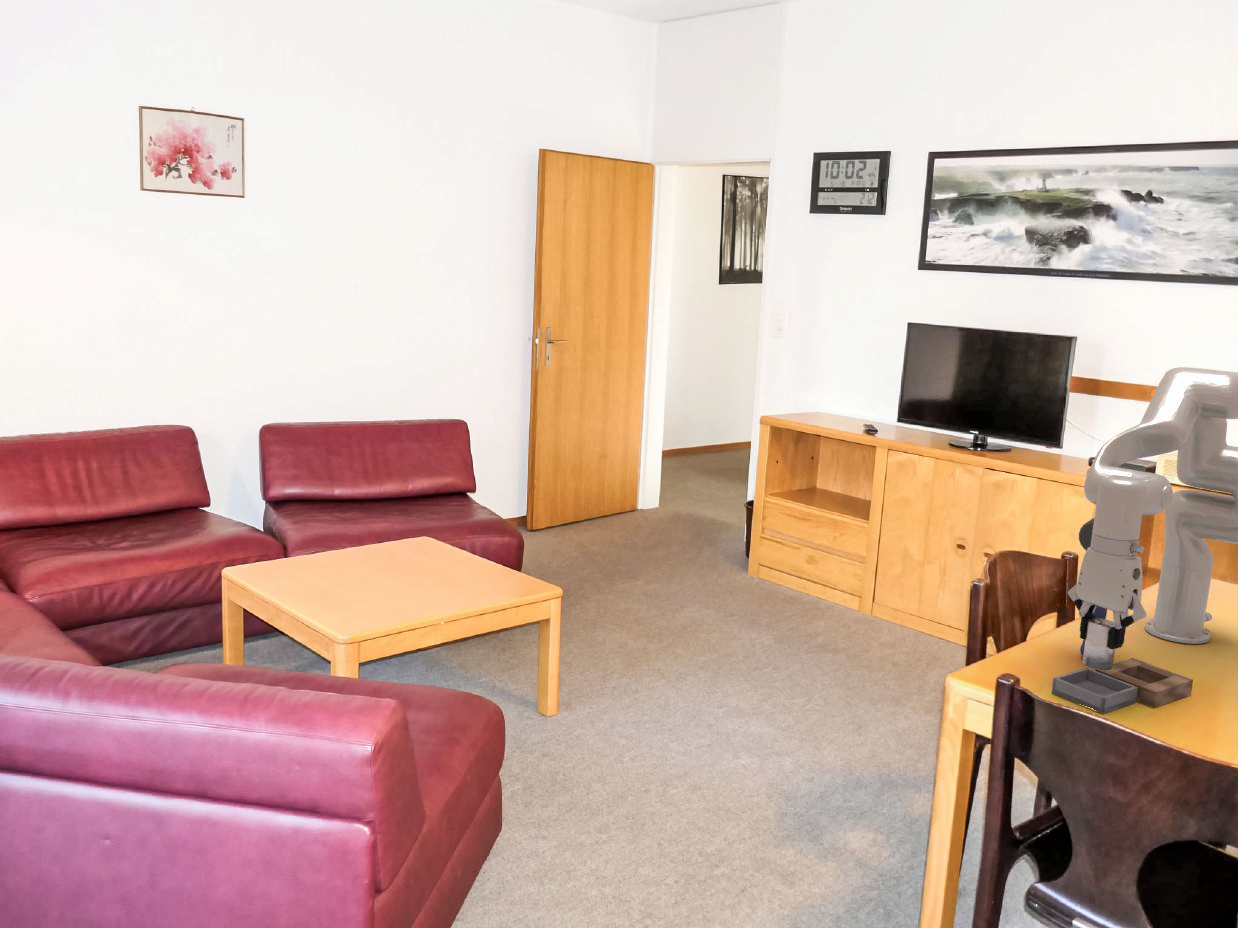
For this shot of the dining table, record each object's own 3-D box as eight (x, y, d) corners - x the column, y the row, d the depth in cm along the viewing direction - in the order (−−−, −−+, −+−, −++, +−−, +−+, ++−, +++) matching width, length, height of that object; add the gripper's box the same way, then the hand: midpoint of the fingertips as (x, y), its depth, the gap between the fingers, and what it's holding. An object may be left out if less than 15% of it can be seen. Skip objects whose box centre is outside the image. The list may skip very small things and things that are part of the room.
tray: (1085, 682, 201) (1087, 667, 200) (1135, 702, 192) (1138, 687, 192) (1051, 693, 195) (1053, 677, 195) (1102, 714, 187) (1104, 698, 186)
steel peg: (1093, 657, 196) (1098, 616, 194) (1118, 667, 192) (1124, 625, 190) (1076, 662, 193) (1082, 620, 192) (1101, 672, 189) (1107, 629, 188)
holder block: (1130, 672, 207) (1132, 657, 206) (1190, 694, 197) (1193, 679, 196) (1093, 683, 200) (1095, 668, 200) (1153, 707, 191) (1156, 692, 190)
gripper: (1172, 555, 183) (1157, 655, 187) (1083, 531, 197) (1071, 624, 201) (1147, 560, 179) (1132, 662, 183) (1058, 535, 193) (1046, 630, 197)
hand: (1100, 641), depth 192 cm, fingers closed on steel peg, 5 cm apart
